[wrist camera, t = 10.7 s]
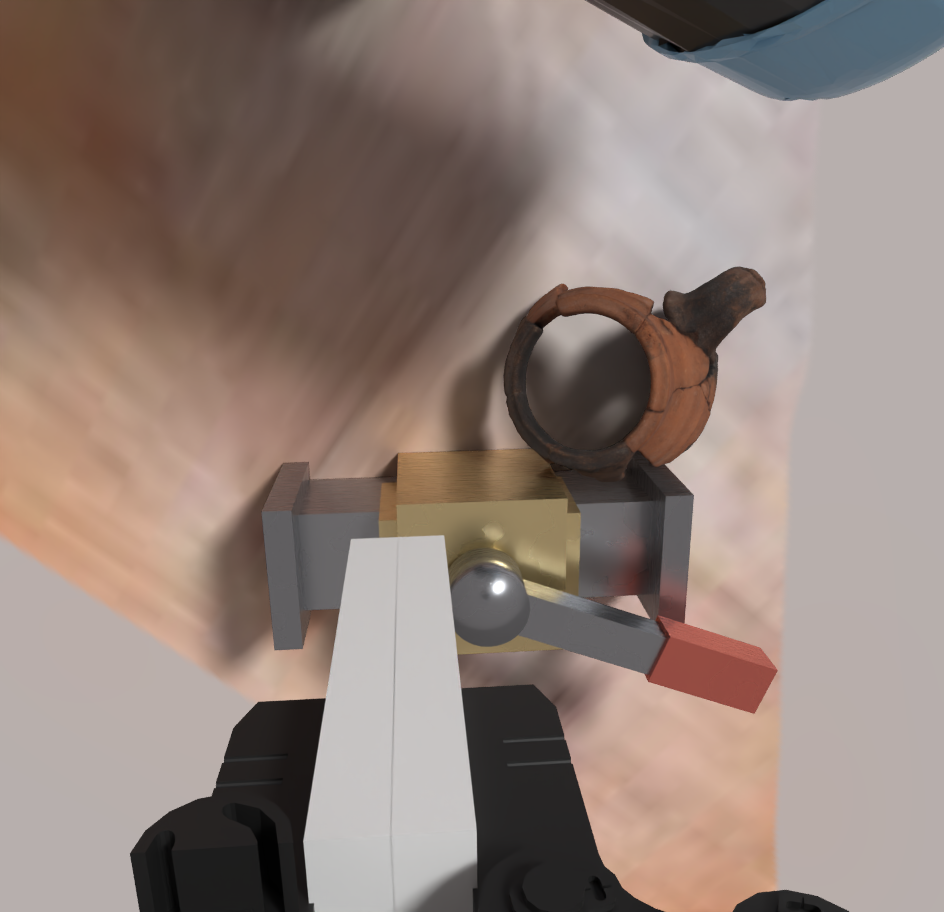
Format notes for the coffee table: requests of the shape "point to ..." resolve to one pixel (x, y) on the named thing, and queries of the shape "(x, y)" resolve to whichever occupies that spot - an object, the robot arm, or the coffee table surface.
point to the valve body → (483, 530)
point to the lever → (602, 632)
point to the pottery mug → (669, 357)
